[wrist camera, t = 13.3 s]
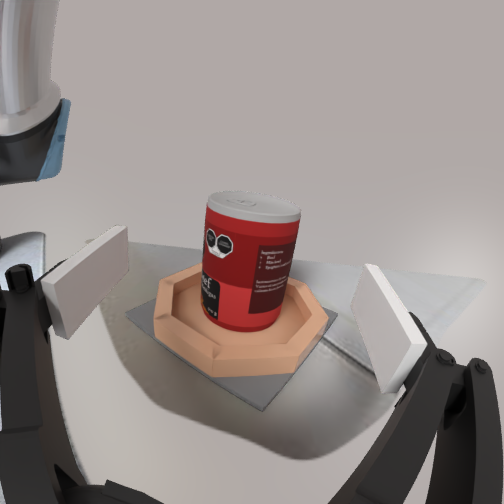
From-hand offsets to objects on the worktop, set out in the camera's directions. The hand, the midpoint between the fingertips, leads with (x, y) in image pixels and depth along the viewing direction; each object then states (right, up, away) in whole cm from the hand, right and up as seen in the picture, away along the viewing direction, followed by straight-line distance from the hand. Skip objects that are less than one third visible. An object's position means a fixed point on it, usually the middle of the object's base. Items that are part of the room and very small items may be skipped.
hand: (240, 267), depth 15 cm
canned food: (-1, -5, +13) cm, 14 cm away
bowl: (-1, -6, +13) cm, 15 cm away
